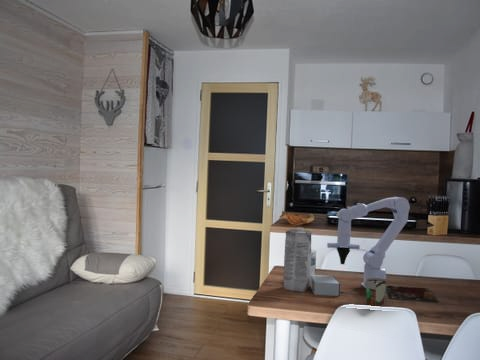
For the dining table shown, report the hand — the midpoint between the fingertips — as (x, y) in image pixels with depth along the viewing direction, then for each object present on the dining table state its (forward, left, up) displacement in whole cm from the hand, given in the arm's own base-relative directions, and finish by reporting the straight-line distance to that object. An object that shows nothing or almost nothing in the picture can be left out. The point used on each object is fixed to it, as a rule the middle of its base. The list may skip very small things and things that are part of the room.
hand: (342, 263), depth 191 cm
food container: (-6, +30, -10) cm, 32 cm away
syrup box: (+15, -6, -10) cm, 19 cm away
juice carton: (+22, +12, -10) cm, 27 cm away
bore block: (+10, +12, -10) cm, 18 cm away
